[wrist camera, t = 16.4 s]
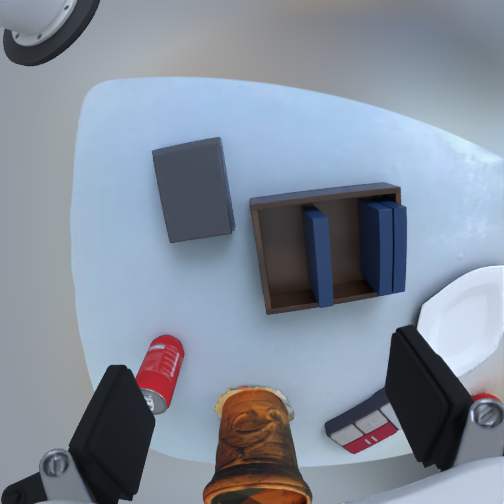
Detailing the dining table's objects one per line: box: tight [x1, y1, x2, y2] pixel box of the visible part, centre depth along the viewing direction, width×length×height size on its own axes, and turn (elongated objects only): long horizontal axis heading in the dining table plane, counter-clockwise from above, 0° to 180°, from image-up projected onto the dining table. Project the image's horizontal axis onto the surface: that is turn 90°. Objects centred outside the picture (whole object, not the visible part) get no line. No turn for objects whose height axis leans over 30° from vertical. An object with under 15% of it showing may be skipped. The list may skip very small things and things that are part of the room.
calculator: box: [325, 387, 402, 454], centre depth 48 cm, size 11×4×15 cm
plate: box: [416, 265, 504, 378], centre depth 43 cm, size 23×23×2 cm
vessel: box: [203, 386, 312, 504], centre depth 39 cm, size 14×14×20 cm
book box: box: [250, 183, 401, 315], centre depth 37 cm, size 13×17×5 cm
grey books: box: [152, 137, 235, 243], centre depth 35 cm, size 11×8×4 cm
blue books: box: [357, 197, 407, 296], centre depth 35 cm, size 10×3×7 cm, turn 8°
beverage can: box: [135, 335, 184, 415], centre depth 38 cm, size 5×5×12 cm
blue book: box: [301, 205, 333, 308], centre depth 35 cm, size 10×2×7 cm, turn 8°
